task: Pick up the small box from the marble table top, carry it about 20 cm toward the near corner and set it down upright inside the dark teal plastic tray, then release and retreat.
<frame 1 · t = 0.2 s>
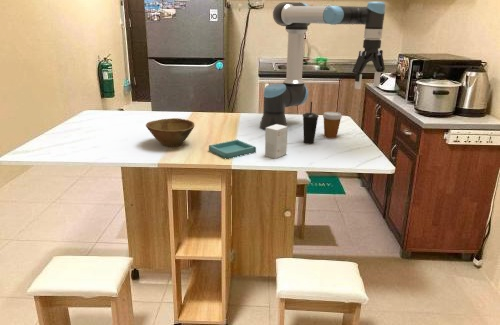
hand: (367, 87, 186), 28 cm above the table, fingers open, 13 cm apart
tray: (232, 151, 184), on the table
bowl: (171, 144, 193), on the table
drinking cup: (308, 142, 199), on the table
small box: (275, 155, 180), on the table
disposable coffee cup: (330, 136, 210), on the table
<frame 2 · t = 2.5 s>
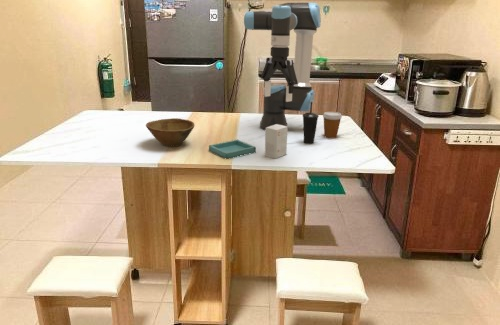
hand: (277, 98, 171), 25 cm above the table, fingers open, 13 cm apart
nothing on the table moved.
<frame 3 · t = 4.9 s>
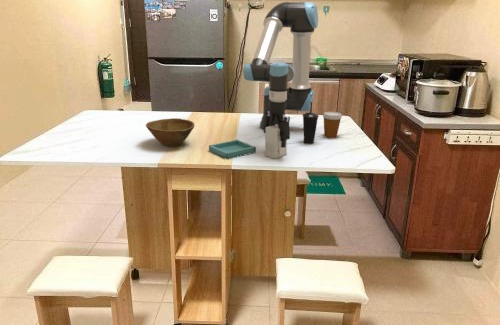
hand: (275, 151, 180), 2 cm above the table, fingers closed on small box, 7 cm apart
small box: (275, 155, 180), on the table, touching gripper
everything else where it was.
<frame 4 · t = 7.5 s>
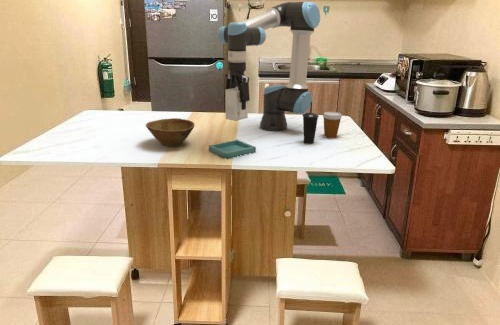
hand: (236, 115, 178), 17 cm above the table, fingers closed on small box, 7 cm apart
small box: (236, 119, 178), point 15 cm above the table, touching gripper
everything else where it was.
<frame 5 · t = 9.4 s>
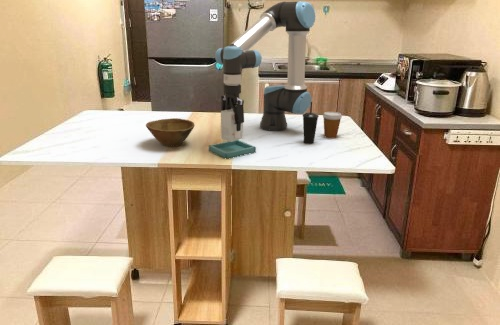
hand: (232, 135, 181), 8 cm above the table, fingers closed on small box, 7 cm apart
small box: (231, 139, 182), point 6 cm above the table, touching gripper
everything else where it was.
when the fingers open (4 cm above the table, at t = 10.5 s): small box drops 2 cm, resting on tray.
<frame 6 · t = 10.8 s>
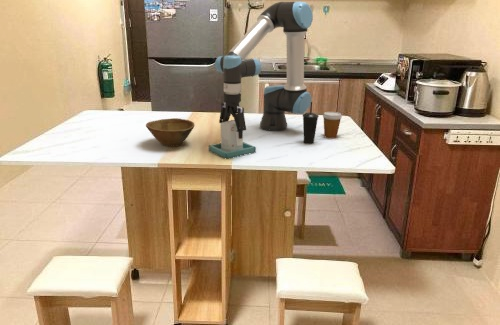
hand: (232, 142, 182), 4 cm above the table, fingers open, 10 cm apart
small box: (231, 150, 184), resting on tray
everything else where it was.
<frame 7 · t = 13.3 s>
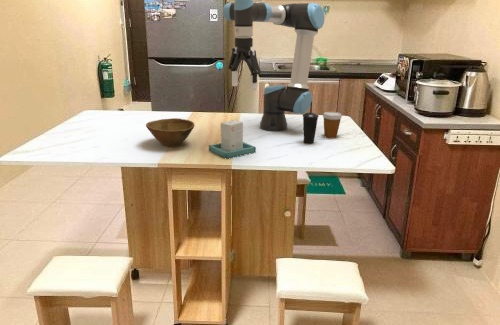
hand: (243, 88, 177), 28 cm above the table, fingers open, 13 cm apart
nothing on the table moved.
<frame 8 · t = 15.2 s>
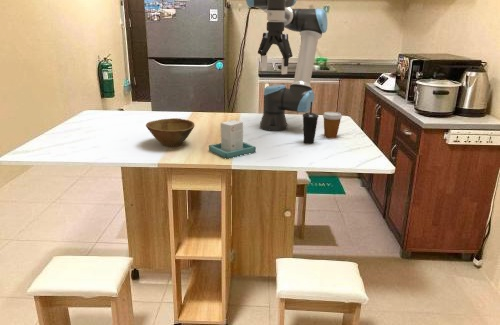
hand: (273, 72, 179), 35 cm above the table, fingers open, 13 cm apart
nothing on the table moved.
at the end: small box inside the target area on the tray (0.2 cm from its centre), point 0.4 cm above the tray's base; small box tilted 0°; the gripper is holding nothing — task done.
